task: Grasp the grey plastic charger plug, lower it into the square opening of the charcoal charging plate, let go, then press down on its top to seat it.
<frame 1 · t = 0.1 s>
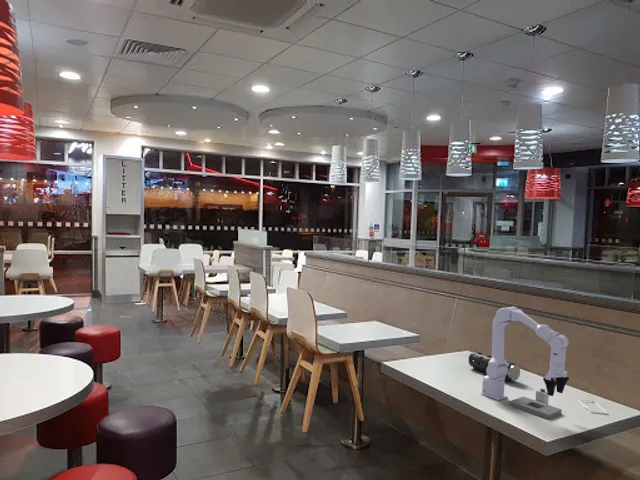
hand: (555, 393, 208), 10 cm above the table, tool pointing down, fingers open, 7 cm apart
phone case: (592, 409, 222), on the table
charger plug: (541, 404, 223), on the table
muzzle brake: (492, 376, 264), on the table
charging plate: (534, 409, 215), on the table
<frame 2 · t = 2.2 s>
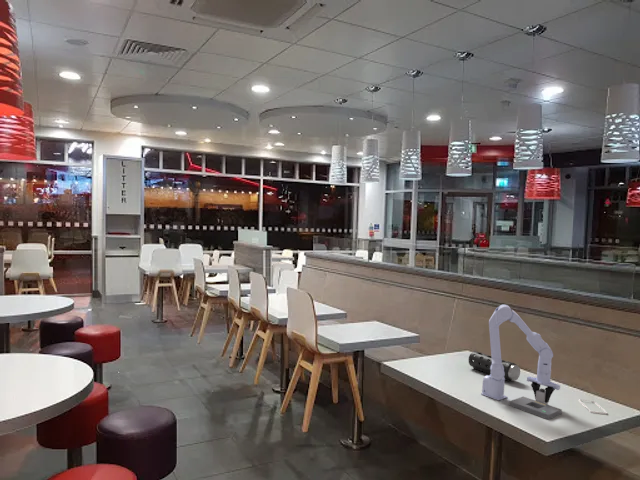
hand: (541, 400, 223), 2 cm above the table, tool pointing down, fingers closed on charger plug, 4 cm apart
charger plug: (541, 404, 223), on the table, touching gripper
everything else where it was.
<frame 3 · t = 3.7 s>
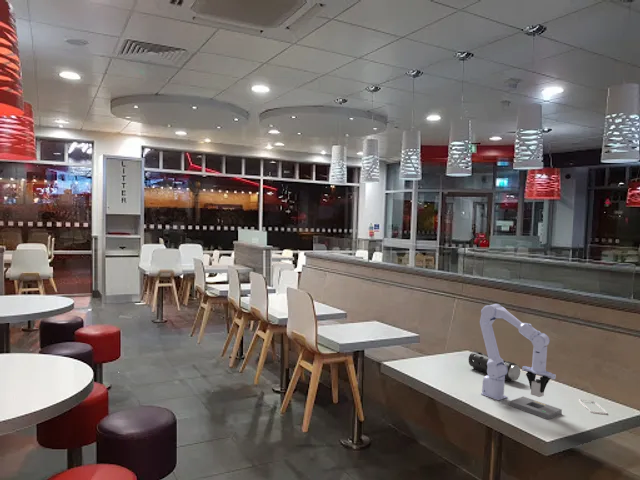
hand: (537, 390, 216), 8 cm above the table, tool pointing down, fingers closed on charger plug, 4 cm apart
charger plug: (537, 395, 216), point 6 cm above the table, touching gripper
everything else where it was.
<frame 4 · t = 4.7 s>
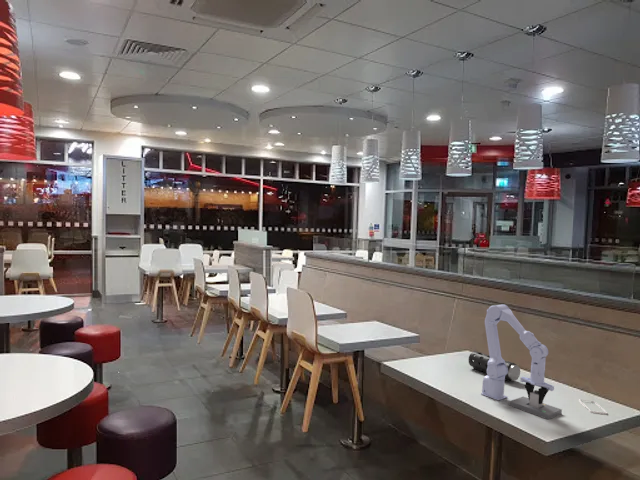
hand: (535, 401, 215), 4 cm above the table, tool pointing down, fingers closed on charger plug, 4 cm apart
charger plug: (535, 406, 215), point 1 cm above the table, touching gripper
everything else where it was.
when the fingers open (3 cm above the table, at t = 5.3 s): charger plug stays where it is, resting in charging plate.
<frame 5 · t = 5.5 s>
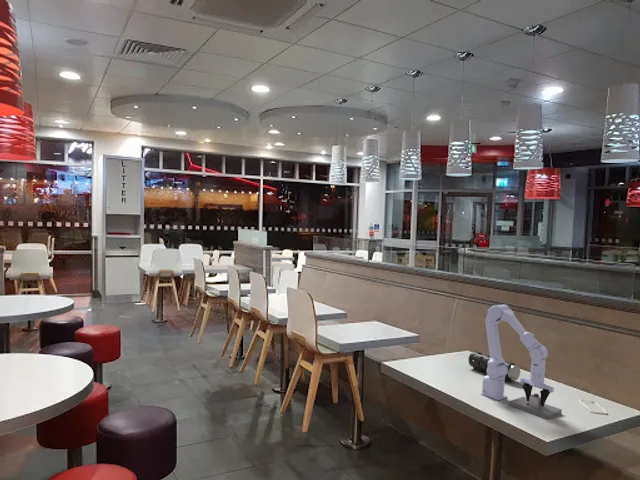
hand: (535, 403, 215), 3 cm above the table, tool pointing down, fingers open, 6 cm apart
charger plug: (535, 409, 215), resting in charging plate
everything else where it was.
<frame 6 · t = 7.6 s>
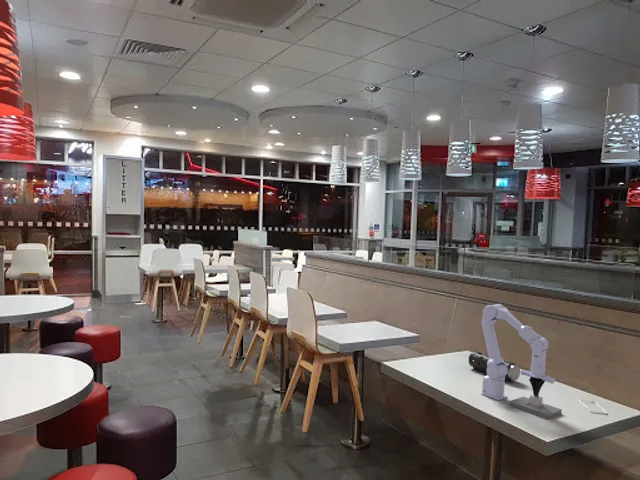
hand: (536, 394, 215), 7 cm above the table, tool pointing down, fingers closed, pressing on charger plug
charger plug: (535, 409, 215), resting in charging plate, touching gripper
everything else where it was.
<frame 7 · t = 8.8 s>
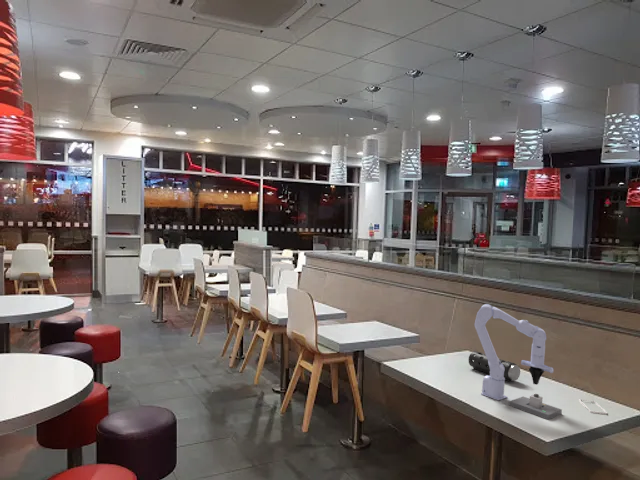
hand: (535, 383, 222), 9 cm above the table, tool pointing down, fingers closed
charger plug: (535, 409, 215), resting in charging plate
everything else where it was.
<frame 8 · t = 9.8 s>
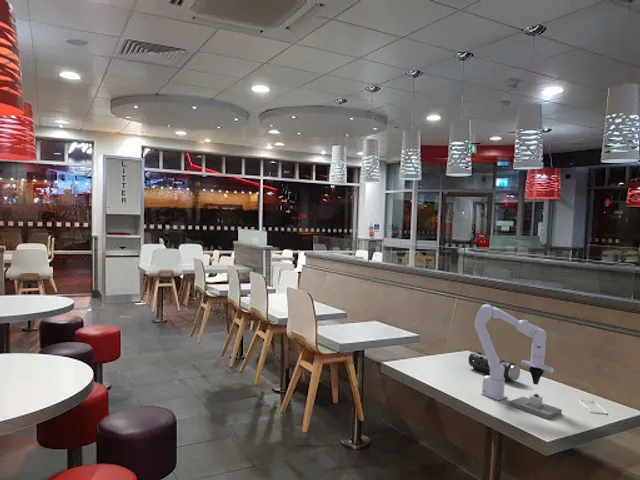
hand: (535, 383, 222), 9 cm above the table, tool pointing down, fingers closed
nothing on the table moved.
at the end: charger plug 0.2 cm off-centre on the charging plate, point 0.0 cm above the charging plate's base; charger plug tilted 0°; the gripper is holding nothing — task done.
